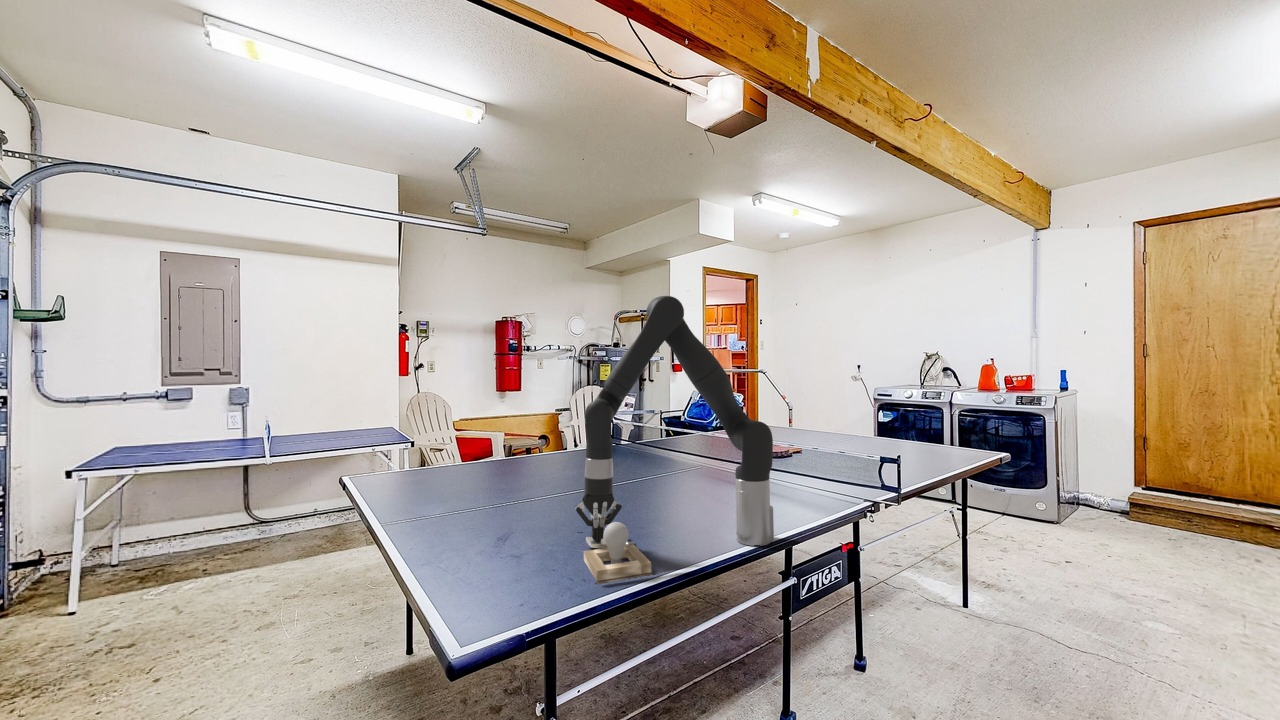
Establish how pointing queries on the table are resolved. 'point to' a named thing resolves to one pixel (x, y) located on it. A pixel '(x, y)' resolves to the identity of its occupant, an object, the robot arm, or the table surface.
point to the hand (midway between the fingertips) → (597, 540)
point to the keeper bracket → (632, 543)
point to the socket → (617, 564)
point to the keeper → (597, 543)
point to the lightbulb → (616, 540)
